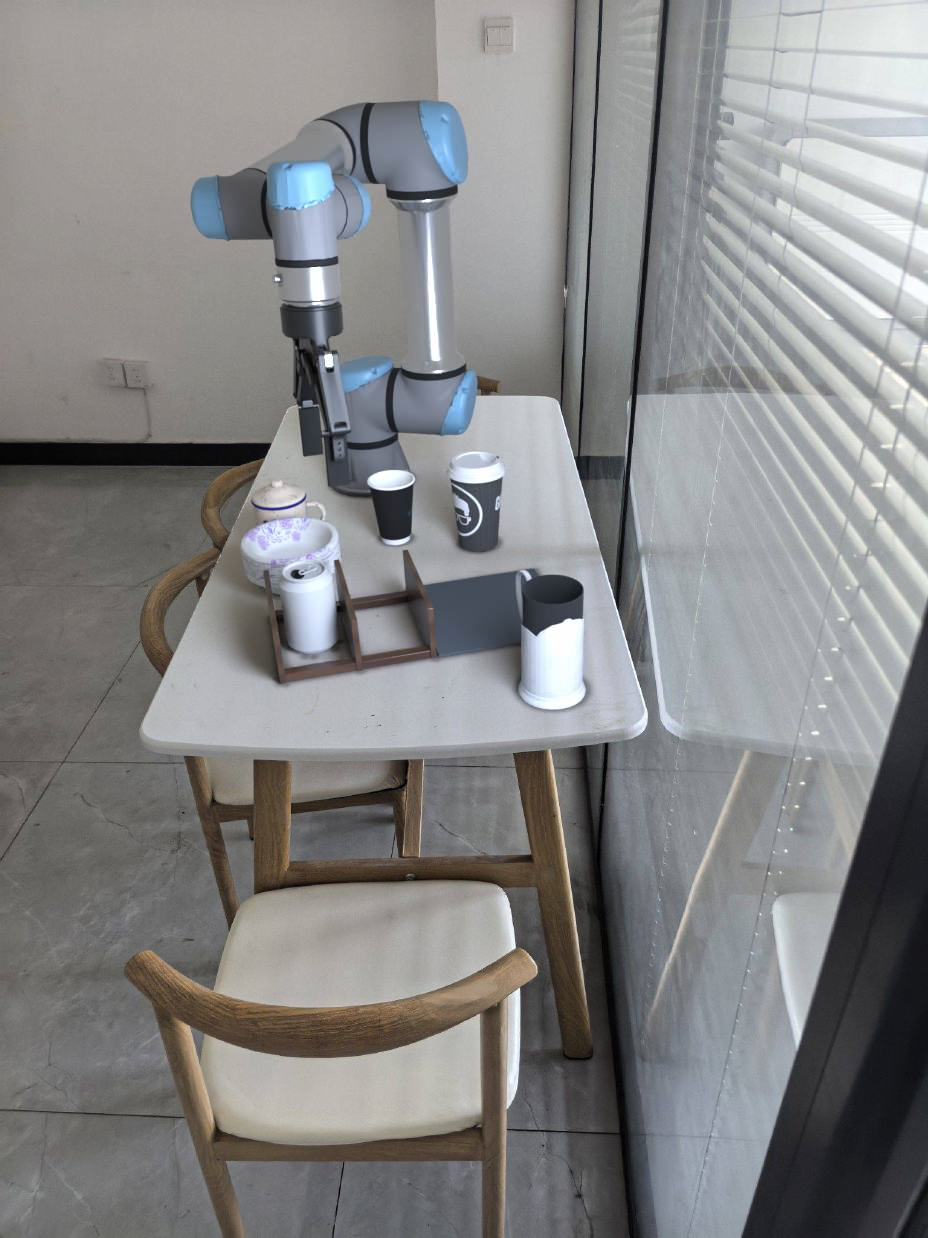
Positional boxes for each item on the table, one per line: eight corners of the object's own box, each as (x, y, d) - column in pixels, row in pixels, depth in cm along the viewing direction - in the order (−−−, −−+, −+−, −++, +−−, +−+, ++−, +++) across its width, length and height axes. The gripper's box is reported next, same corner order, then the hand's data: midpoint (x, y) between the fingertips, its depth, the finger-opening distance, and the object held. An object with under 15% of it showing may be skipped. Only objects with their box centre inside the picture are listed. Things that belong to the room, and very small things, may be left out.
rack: (270, 617, 144) (262, 570, 140) (411, 595, 148) (407, 549, 144) (280, 684, 129) (272, 633, 125) (436, 657, 133) (433, 607, 129)
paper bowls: (290, 616, 144) (283, 569, 140) (227, 586, 153) (219, 541, 148) (363, 576, 153) (359, 531, 149) (300, 550, 162) (294, 507, 158)
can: (282, 636, 139) (270, 562, 133) (331, 624, 141) (322, 551, 135) (295, 662, 133) (283, 586, 127) (347, 649, 136) (338, 574, 129)
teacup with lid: (256, 557, 161) (246, 493, 154) (260, 533, 168) (250, 471, 162) (329, 551, 161) (321, 487, 155) (329, 528, 169) (322, 466, 163)
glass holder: (537, 716, 120) (537, 613, 113) (489, 660, 132) (486, 563, 124) (598, 698, 123) (602, 596, 116) (546, 644, 135) (547, 548, 127)
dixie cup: (364, 537, 166) (358, 477, 160) (403, 524, 169) (399, 465, 164) (387, 553, 160) (382, 492, 154) (428, 540, 164) (424, 480, 158)
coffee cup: (501, 557, 157) (500, 472, 149) (444, 554, 159) (440, 469, 151) (511, 532, 165) (510, 449, 157) (456, 529, 167) (452, 447, 159)
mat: (410, 589, 150) (410, 587, 149) (534, 570, 153) (534, 568, 153) (438, 657, 133) (438, 655, 133) (576, 634, 137) (576, 632, 136)
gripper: (259, 289, 126) (277, 446, 136) (303, 320, 105) (320, 503, 115) (316, 285, 129) (329, 440, 138) (369, 314, 108) (381, 494, 118)
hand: (325, 469), depth 127 cm, fingers open, 13 cm apart
